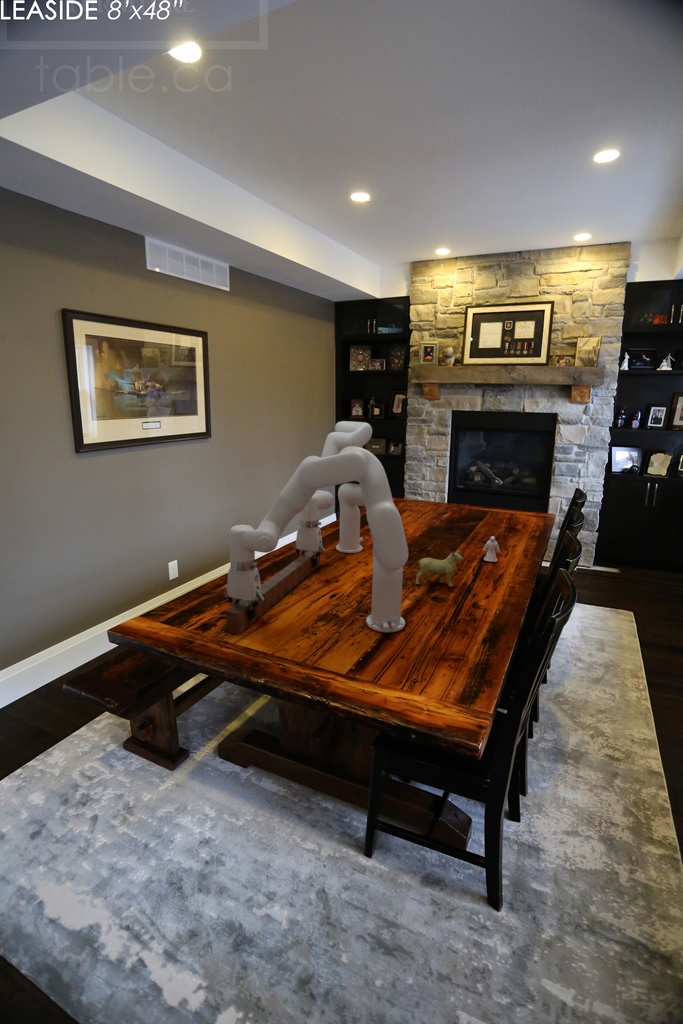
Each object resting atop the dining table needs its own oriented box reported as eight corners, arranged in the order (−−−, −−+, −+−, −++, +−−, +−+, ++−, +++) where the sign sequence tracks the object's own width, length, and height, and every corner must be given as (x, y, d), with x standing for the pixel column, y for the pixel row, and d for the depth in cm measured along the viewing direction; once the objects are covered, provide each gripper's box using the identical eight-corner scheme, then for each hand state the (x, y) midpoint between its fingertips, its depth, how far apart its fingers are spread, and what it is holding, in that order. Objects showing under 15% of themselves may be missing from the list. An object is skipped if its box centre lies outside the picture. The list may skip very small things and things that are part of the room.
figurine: (481, 562, 222) (483, 536, 219) (482, 556, 230) (484, 531, 227) (499, 564, 220) (501, 538, 217) (499, 558, 228) (501, 533, 225)
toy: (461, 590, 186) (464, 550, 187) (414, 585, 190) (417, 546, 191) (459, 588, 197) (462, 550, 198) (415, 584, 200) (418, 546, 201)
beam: (239, 634, 154) (238, 613, 152) (226, 631, 156) (225, 611, 154) (319, 565, 215) (320, 549, 213) (310, 563, 217) (310, 548, 215)
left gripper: (331, 523, 205) (330, 565, 210) (293, 519, 211) (294, 560, 215) (324, 528, 198) (324, 571, 203) (286, 523, 204) (286, 565, 208)
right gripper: (272, 564, 157) (273, 617, 162) (226, 557, 163) (227, 608, 167) (261, 572, 150) (262, 627, 155) (212, 564, 156) (215, 618, 160)
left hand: (308, 565), depth 209 cm, fingers closed on beam, 4 cm apart
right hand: (244, 617), depth 161 cm, fingers closed on beam, 4 cm apart
